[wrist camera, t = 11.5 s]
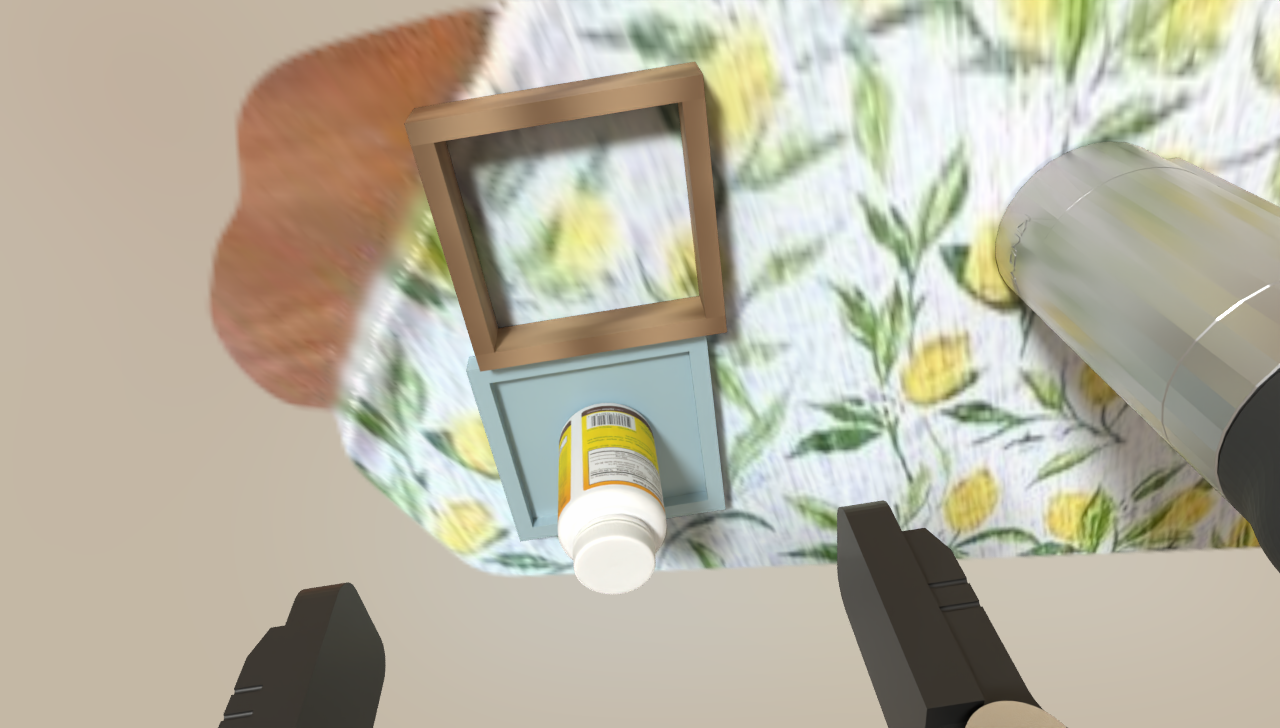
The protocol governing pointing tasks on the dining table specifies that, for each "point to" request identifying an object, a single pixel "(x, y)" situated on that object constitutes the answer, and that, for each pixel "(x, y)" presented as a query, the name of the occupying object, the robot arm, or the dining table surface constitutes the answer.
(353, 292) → the dining table surface
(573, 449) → the supplement bottle
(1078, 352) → the robot arm
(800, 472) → the dining table surface
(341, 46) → the dining table surface
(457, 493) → the dining table surface
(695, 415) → the tray
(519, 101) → the frame
